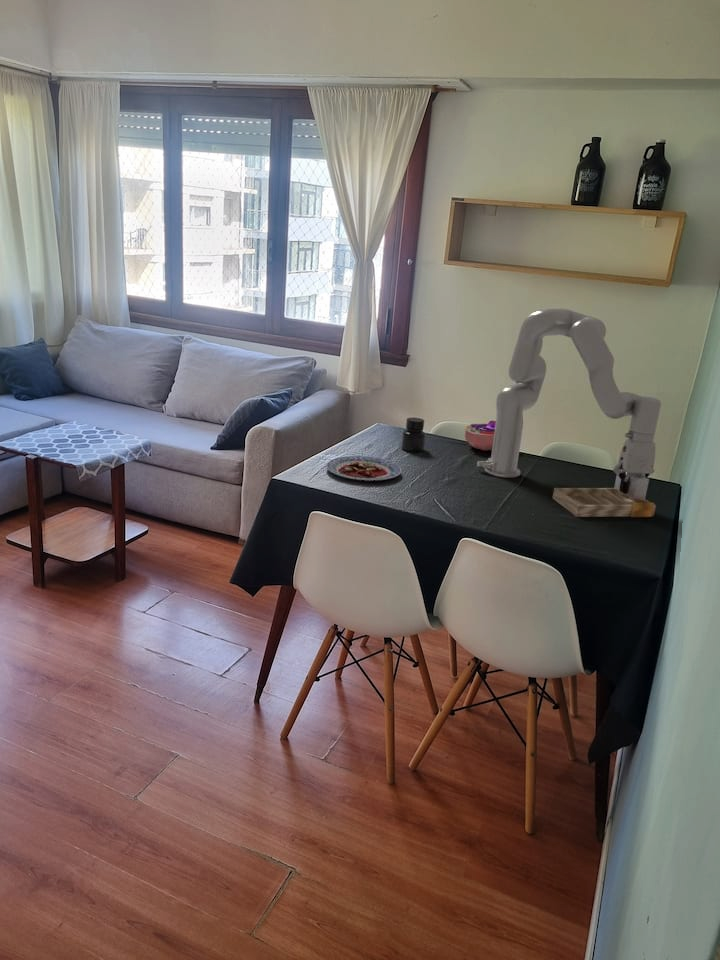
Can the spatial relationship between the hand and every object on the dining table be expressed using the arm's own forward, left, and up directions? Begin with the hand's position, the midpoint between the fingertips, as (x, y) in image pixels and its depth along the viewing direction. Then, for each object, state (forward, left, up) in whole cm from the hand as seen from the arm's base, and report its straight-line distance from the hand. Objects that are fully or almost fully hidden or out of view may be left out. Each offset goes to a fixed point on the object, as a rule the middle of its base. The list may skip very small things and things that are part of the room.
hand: (629, 491), depth 214 cm
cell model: (-24, +64, -5) cm, 68 cm away
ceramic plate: (-80, +33, -6) cm, 87 cm away
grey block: (0, 0, -1) cm, 1 cm away
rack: (-9, 0, -5) cm, 10 cm away
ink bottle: (-55, +62, -5) cm, 83 cm away
